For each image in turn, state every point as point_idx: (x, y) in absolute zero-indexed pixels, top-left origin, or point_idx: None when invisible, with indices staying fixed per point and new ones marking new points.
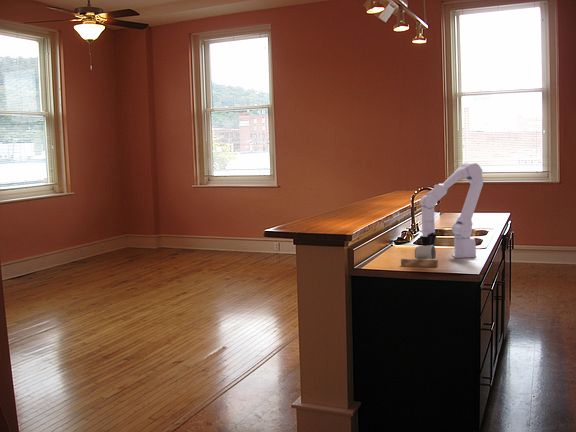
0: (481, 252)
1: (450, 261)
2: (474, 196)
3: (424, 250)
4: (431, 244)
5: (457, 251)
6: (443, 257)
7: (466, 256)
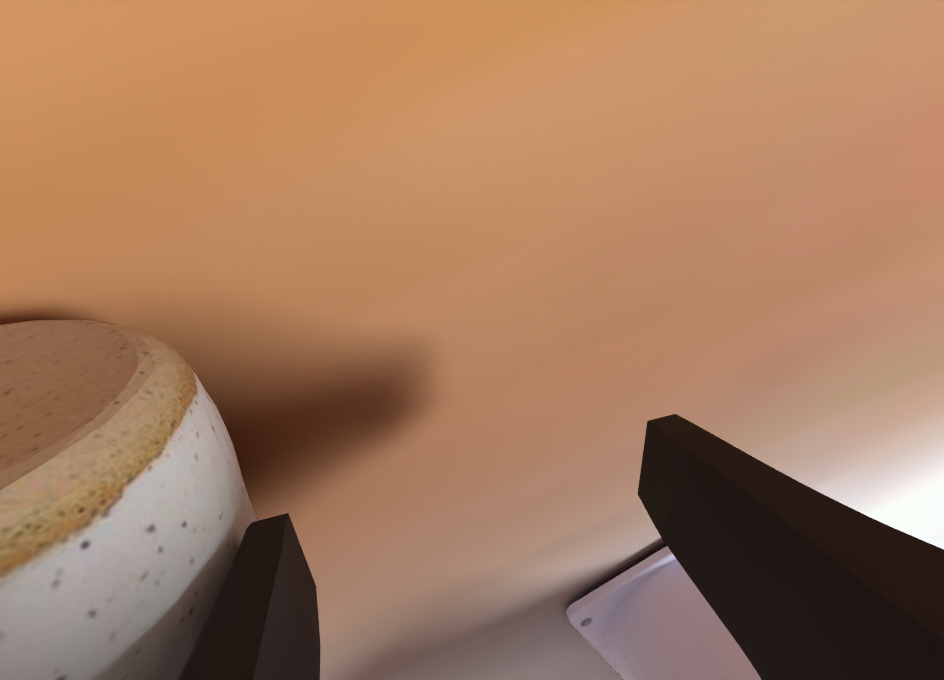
0: None
1: (330, 663)
2: None
3: None
4: (712, 557)
5: (647, 667)
6: (609, 478)
7: (612, 661)
